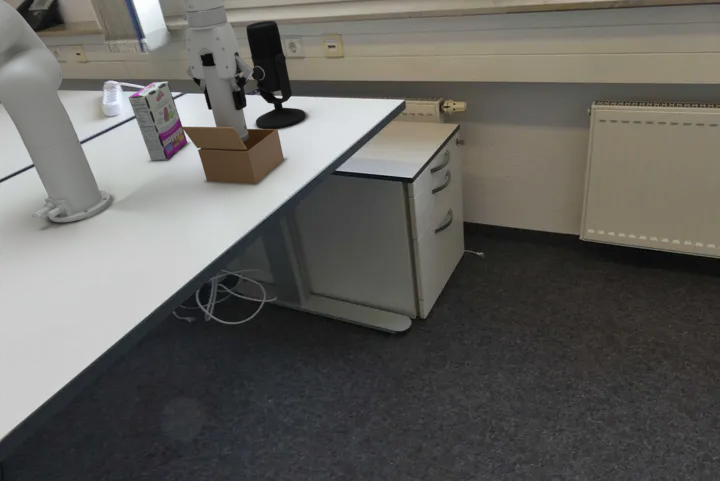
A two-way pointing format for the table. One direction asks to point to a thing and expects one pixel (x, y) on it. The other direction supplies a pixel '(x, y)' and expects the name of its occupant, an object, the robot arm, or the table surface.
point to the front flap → (215, 137)
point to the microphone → (271, 75)
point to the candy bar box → (158, 120)
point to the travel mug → (223, 99)
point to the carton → (244, 159)
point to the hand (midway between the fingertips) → (227, 107)
